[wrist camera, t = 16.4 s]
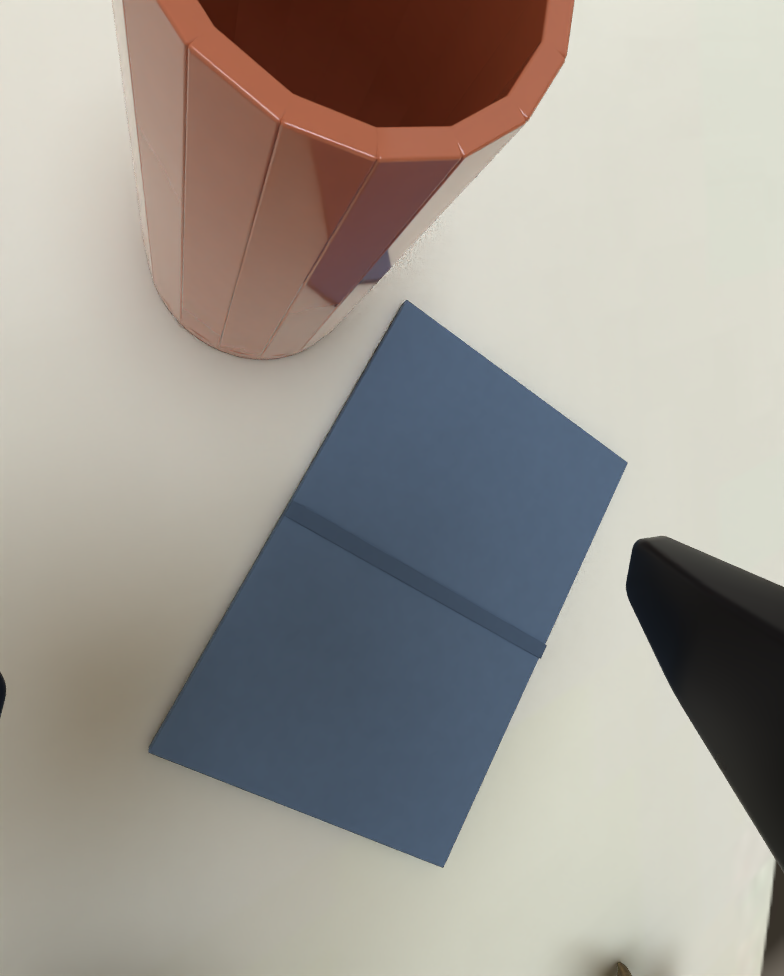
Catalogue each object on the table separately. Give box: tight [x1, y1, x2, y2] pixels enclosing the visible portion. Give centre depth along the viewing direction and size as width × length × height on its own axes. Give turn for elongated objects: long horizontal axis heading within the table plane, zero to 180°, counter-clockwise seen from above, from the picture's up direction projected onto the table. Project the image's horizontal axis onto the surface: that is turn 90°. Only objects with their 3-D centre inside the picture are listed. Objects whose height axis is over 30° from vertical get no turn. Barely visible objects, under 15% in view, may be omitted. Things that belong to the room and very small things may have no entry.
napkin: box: [148, 300, 627, 868], centre depth 22 cm, size 18×12×1 cm, turn 150°
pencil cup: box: [112, 0, 574, 359], centre depth 14 cm, size 7×7×13 cm
